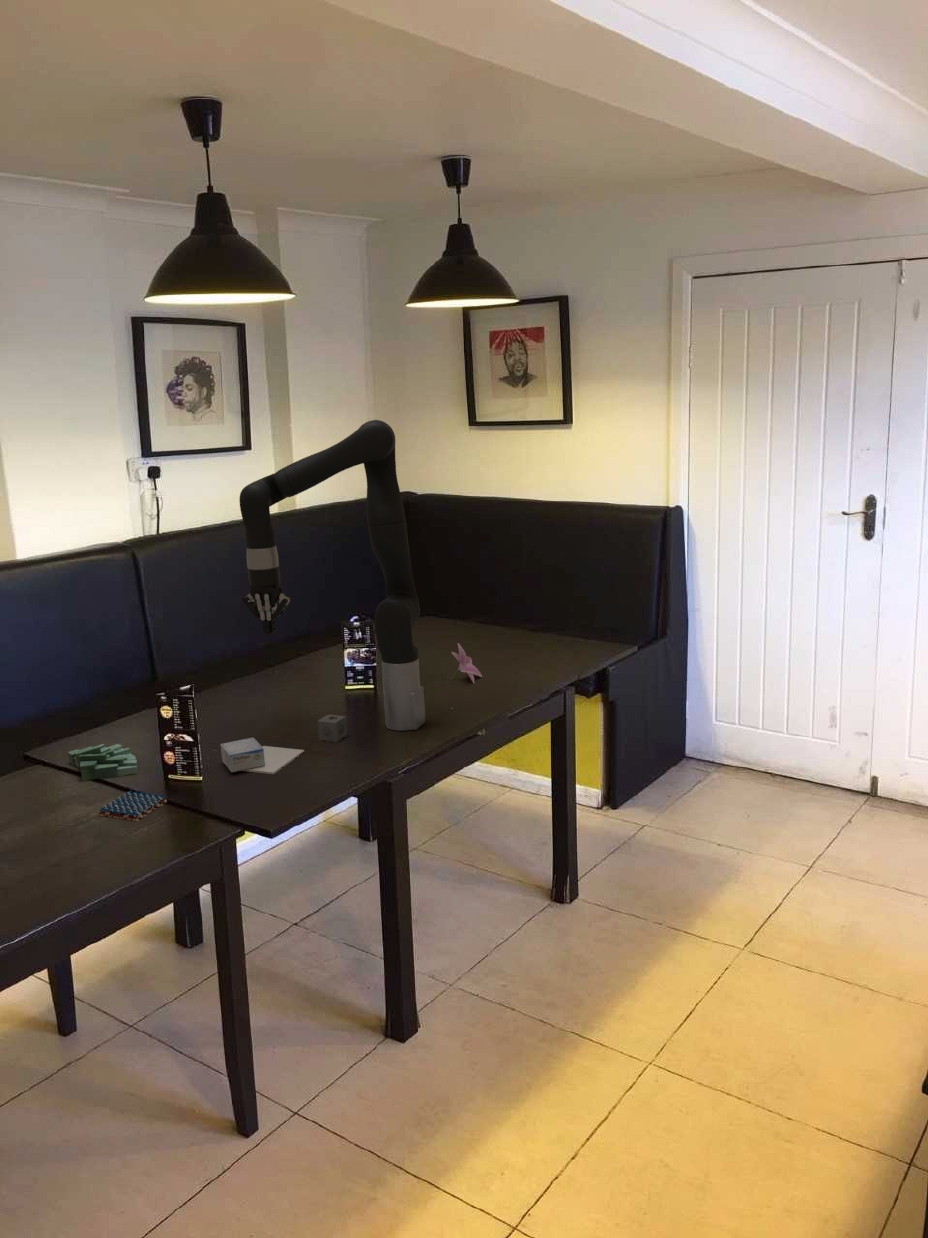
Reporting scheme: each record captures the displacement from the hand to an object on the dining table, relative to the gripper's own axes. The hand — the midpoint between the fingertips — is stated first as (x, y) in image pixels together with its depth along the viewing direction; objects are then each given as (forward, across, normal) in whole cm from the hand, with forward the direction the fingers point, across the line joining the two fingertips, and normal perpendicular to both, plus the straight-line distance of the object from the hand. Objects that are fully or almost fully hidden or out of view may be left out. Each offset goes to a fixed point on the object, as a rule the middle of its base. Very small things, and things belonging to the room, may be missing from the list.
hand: (269, 634), depth 255 cm
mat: (+25, -8, +20) cm, 33 cm away
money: (+25, +27, +32) cm, 49 cm away
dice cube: (+25, -16, +2) cm, 30 cm away
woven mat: (+25, +6, +50) cm, 57 cm away
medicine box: (+22, -1, +20) cm, 30 cm away
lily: (+25, -32, -49) cm, 64 cm away
